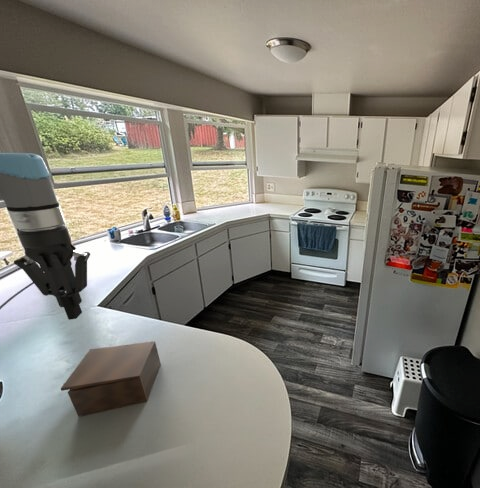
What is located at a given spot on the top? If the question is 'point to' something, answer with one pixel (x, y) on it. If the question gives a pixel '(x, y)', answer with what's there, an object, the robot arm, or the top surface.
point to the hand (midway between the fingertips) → (75, 315)
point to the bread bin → (116, 391)
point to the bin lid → (110, 365)
